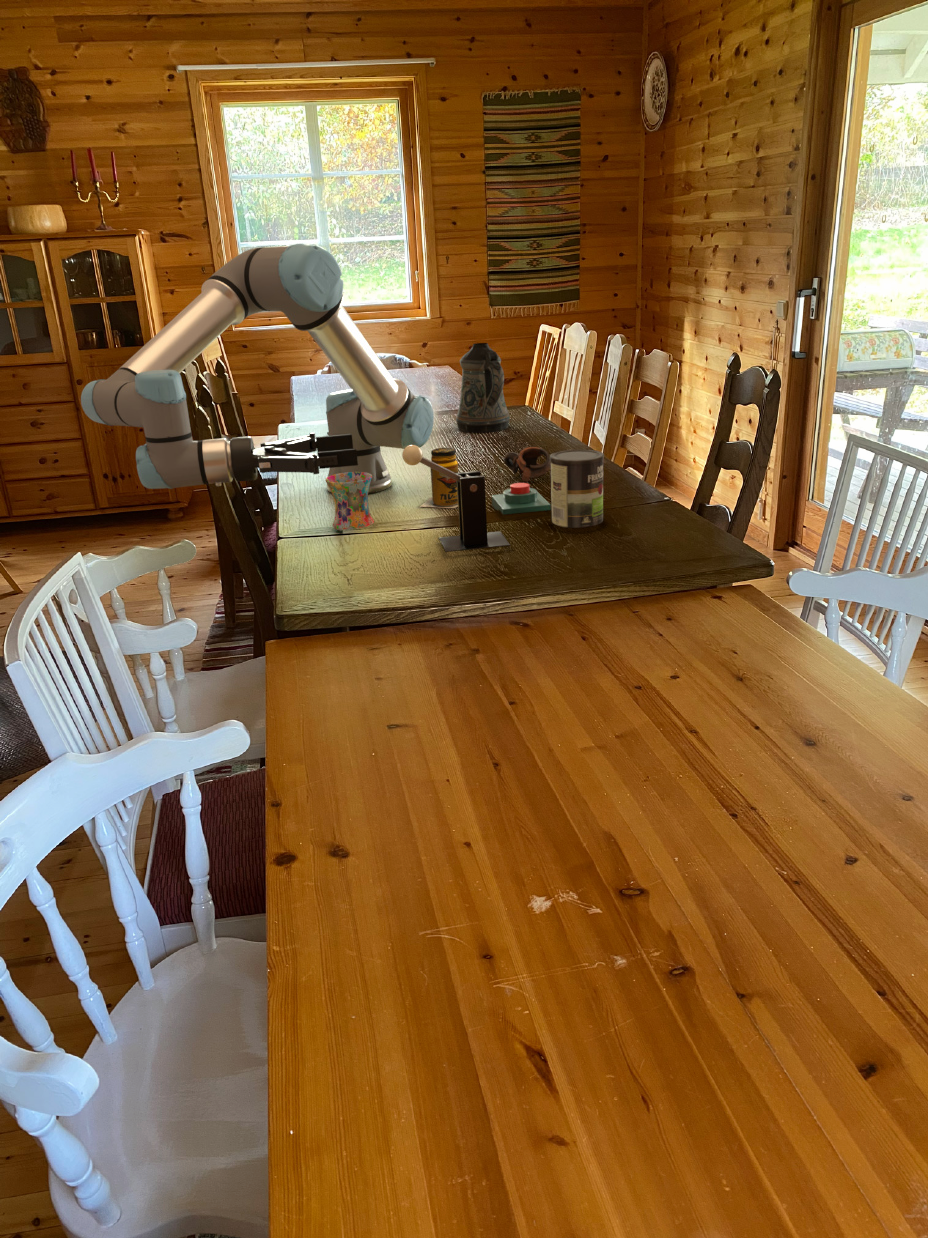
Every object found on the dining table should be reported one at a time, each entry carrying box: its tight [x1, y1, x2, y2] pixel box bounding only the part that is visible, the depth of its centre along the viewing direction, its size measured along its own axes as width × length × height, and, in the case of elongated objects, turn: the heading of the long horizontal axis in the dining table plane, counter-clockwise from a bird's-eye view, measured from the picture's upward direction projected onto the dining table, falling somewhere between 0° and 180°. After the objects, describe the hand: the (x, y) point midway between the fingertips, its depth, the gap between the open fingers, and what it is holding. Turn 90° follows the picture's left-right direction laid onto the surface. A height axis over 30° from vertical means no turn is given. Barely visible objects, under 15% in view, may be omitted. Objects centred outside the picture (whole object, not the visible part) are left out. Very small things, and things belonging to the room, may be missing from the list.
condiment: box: [419, 447, 459, 509], centre depth 199 cm, size 7×8×12 cm
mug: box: [324, 472, 375, 532], centre depth 186 cm, size 12×9×11 cm
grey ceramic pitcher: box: [455, 342, 511, 434], centre depth 276 cm, size 16×19×25 cm
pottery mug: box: [503, 446, 551, 483], centre depth 218 cm, size 12×10×8 cm
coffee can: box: [549, 448, 605, 529], centre depth 178 cm, size 10×10×14 cm
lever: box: [401, 445, 471, 482], centre depth 165 cm, size 15×4×4 cm
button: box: [509, 482, 531, 494], centre depth 192 cm, size 4×4×2 cm
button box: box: [491, 487, 552, 516], centre depth 192 cm, size 12×10×4 cm
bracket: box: [438, 470, 511, 553], centre depth 169 cm, size 12×9×14 cm
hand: (355, 448), depth 161 cm, fingers open, 13 cm apart
